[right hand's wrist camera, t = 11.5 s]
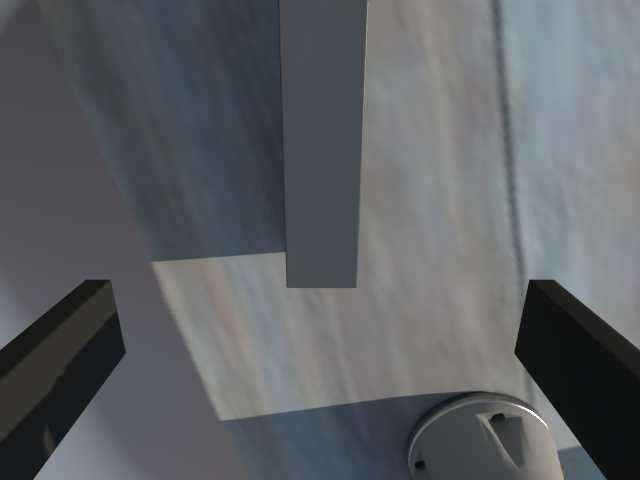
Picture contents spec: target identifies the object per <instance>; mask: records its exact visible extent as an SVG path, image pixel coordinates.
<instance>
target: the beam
mask: <svg viewBox="0 0 640 480" xmlns="http://www.w3.org/2000/svg"><path fill="white" fill-rule="evenodd" d="M368 3H369V0H278V8H279V42H280V76H281V110H282V145H283V179H284V213H285V247H286V281H287V288H357V273H358V249H359V224H360V199H361V175H362V150H363V126H364V101H365V77H366V52H367V28H368Z"/></svg>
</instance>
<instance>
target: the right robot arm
mask: <svg viewBox="0 0 640 480" xmlns="http://www.w3.org/2000/svg"><path fill="white" fill-rule="evenodd" d="M125 353H126V352H125V347H124V342H123V337H122V333H121V328H120V323H119V318H118V313H117V308H116V303H115V299H114V294H113V289H112V284H111V280H85V281H84V282H83V283H82V284H80V285H79V286H78V287H77V288H75V289H74V290H73V291H72V292H71V293H69V294H68V295H67V296H66V297H65V298H63V299H62V300H61V301H60V302H58V303H57V304H56V305H55V306H54V307H52V308H51V309H50V310H49V311H47V312H46V313H45V314H44V315H43V316H41V317H40V318H39V319H38V320H36V321H35V322H34V323H33V324H32V325H30V326H29V327H28V328H27V329H25V330H24V331H23V332H22V333H21V334H19V335H18V336H17V337H16V338H14V339H13V340H12V341H11V342H10V343H8V344H7V345H6V346H5V347H3V348H2V349H1V350H0V480H33V479H34V478H35V476H36V475H37V474H38V472H39V471H40V470H41V468H42V467H43V465H44V464H45V463H46V461H47V460H48V459H49V457H50V456H51V454H52V453H53V452H54V450H55V449H56V448H57V446H58V445H59V444H60V442H61V441H62V440H63V438H64V437H65V435H66V434H67V433H68V431H69V430H70V429H71V427H72V426H73V424H74V423H75V422H76V420H77V419H78V418H79V416H80V415H81V414H82V412H83V411H84V409H85V408H86V407H87V405H88V404H89V403H90V401H91V400H92V399H93V397H94V396H95V394H96V393H97V392H98V390H99V389H100V388H101V386H102V385H103V384H104V382H105V381H106V379H107V378H108V377H109V375H110V374H111V373H112V371H113V370H114V369H115V367H116V366H117V364H118V363H119V362H120V360H121V359H122V358H123V356H124V355H125ZM514 353H515V355H516V356H517V358H518V359H519V360H520V362H521V363H522V364H523V366H524V367H525V369H526V370H527V371H528V373H529V374H530V375H531V377H532V378H533V379H534V381H535V382H536V384H537V385H538V386H539V388H540V389H541V390H542V392H543V393H544V394H545V396H546V397H547V399H548V400H549V401H550V403H551V404H552V405H553V407H554V408H555V409H556V411H557V412H558V414H559V415H560V416H561V418H562V419H563V420H564V422H565V423H566V424H567V426H568V427H569V429H570V430H571V431H572V433H573V434H574V435H575V437H576V438H577V440H578V441H579V442H580V444H581V445H582V446H583V448H584V449H585V450H586V452H587V453H588V455H589V456H590V457H591V459H592V460H593V461H594V463H595V464H596V465H597V467H598V468H599V470H600V471H601V472H602V474H603V475H604V476H605V478H606V479H607V480H640V350H639V349H638V348H637V347H635V346H634V345H633V344H632V343H630V342H629V341H628V340H627V339H626V338H624V337H623V336H622V335H621V334H619V333H618V332H617V331H616V330H615V329H613V328H612V327H611V326H610V325H608V324H607V323H606V322H605V321H604V320H602V319H601V318H600V317H599V316H597V315H596V314H595V313H594V312H593V311H591V310H590V309H589V308H588V307H587V306H585V305H584V304H583V303H582V302H580V301H579V300H578V299H577V298H576V297H574V296H573V295H572V294H571V293H569V292H568V291H567V290H566V289H565V288H563V287H562V286H561V285H560V284H558V283H557V282H556V281H555V280H529V284H528V289H527V294H526V299H525V303H524V308H523V313H522V318H521V323H520V328H519V332H518V337H517V342H516V347H515V352H514ZM406 456H407V461H408V466H409V470H410V473H411V476H412V478H413V480H564V479H565V477H566V475H567V474H566V473H565V471H564V470H563V468H562V466H560V462H559V458H558V454H557V450H556V446H555V443H554V440H553V438H552V435H551V433H550V431H549V429H548V427H547V426H546V424H545V423H544V421H543V420H542V418H541V417H540V415H539V414H538V413H537V412H536V411H535V410H534V409H533V408H532V407H531V406H530V405H528V404H527V403H525V402H524V401H522V400H520V399H518V398H515V397H512V396H509V395H505V394H500V393H491V392H482V393H472V394H466V395H462V396H458V397H455V398H452V399H450V400H447V401H445V402H443V403H441V404H439V405H438V406H436V407H434V408H433V409H432V410H430V411H429V412H428V413H426V414H425V415H424V416H423V417H422V418H421V419H420V420H419V421H418V423H417V424H416V425H415V427H414V428H413V430H412V432H411V434H410V436H409V439H408V442H407V448H406Z"/></svg>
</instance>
